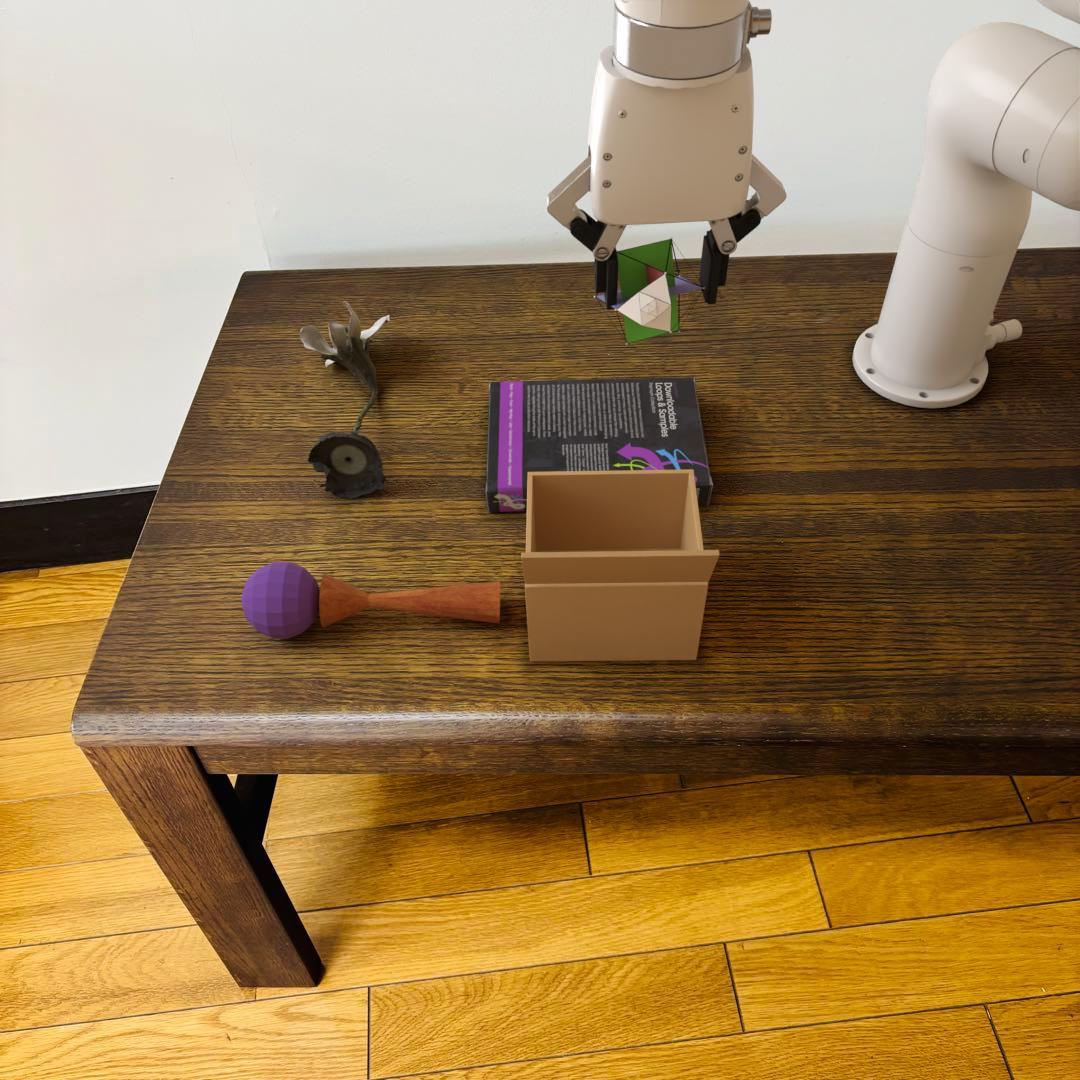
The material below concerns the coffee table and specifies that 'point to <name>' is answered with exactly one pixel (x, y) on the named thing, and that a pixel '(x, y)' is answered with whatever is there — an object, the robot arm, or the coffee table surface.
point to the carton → (613, 525)
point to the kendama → (350, 600)
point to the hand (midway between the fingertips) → (658, 293)
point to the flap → (618, 566)
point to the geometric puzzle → (649, 291)
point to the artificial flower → (353, 455)
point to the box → (591, 432)
